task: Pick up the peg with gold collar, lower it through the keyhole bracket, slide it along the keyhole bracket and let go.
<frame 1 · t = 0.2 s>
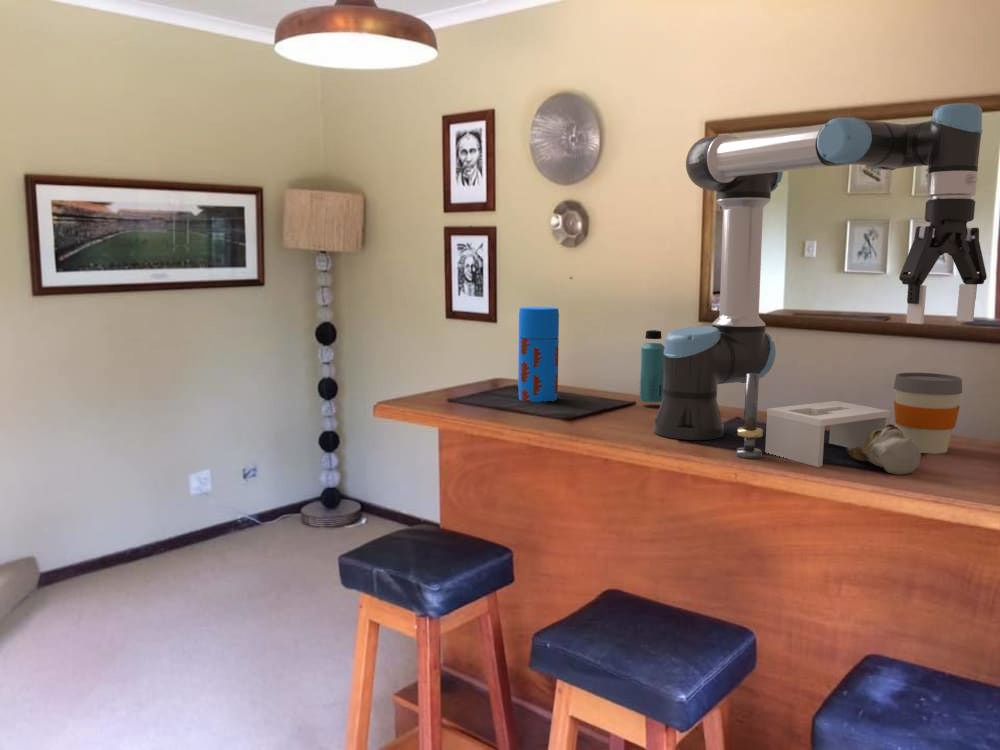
hand: (940, 322, 146), 28 cm above the table, fingers open, 13 cm apart
beverage bottle: (651, 406, 220), on the table
keyhole bracket: (825, 454, 167), on the table
thermos: (537, 399, 229), on the table
reusable coffee cup: (922, 449, 172), on the table
peg with gold collar: (748, 456, 165), on the table
ceramic sculpture: (886, 469, 156), on the table
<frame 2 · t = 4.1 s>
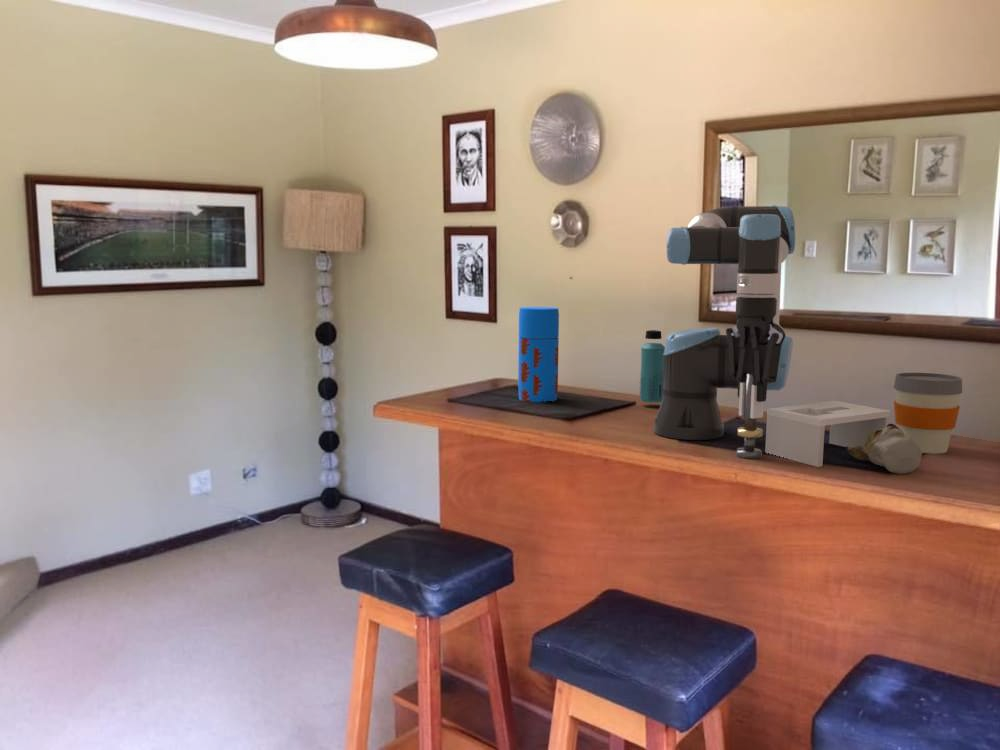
hand: (750, 416, 163), 8 cm above the table, fingers closed on peg with gold collar, 2 cm apart
peg with gold collar: (748, 456, 165), on the table, touching gripper
everything else where it was.
when the fingers open (13 cm above the table, at t = 10.2 s): peg with gold collar stays where it is, resting on keyhole bracket.
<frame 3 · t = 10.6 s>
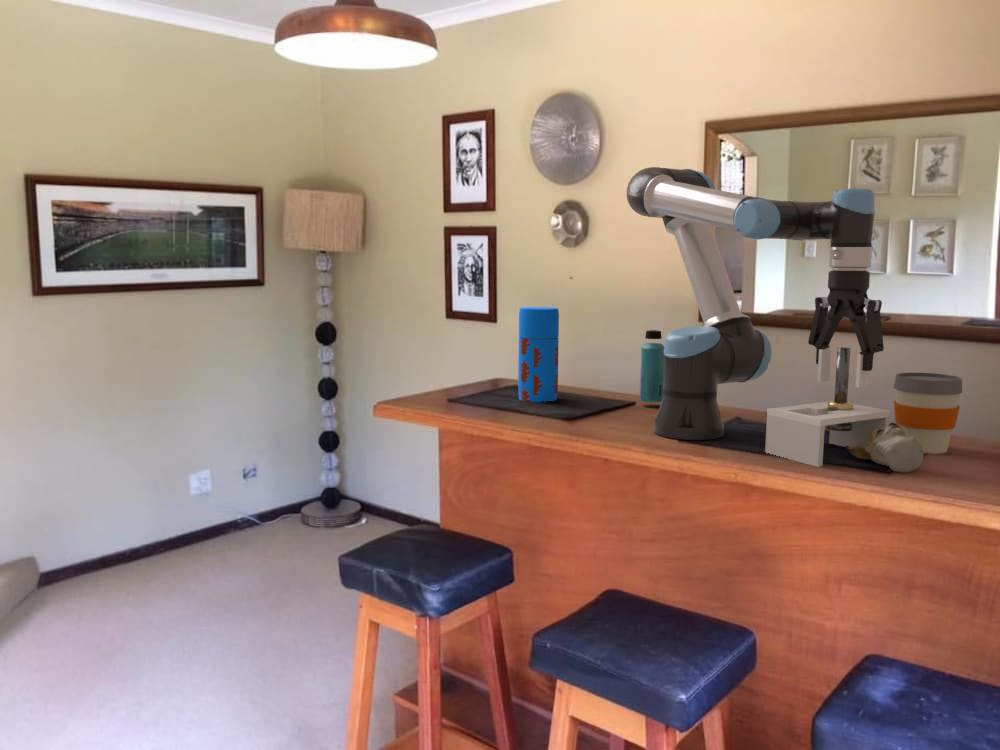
hand: (842, 383, 166), 14 cm above the table, fingers open, 8 cm apart
peg with gold collar: (838, 428, 168), point 5 cm above the table, touching keyhole bracket
ceramic sculpture: (888, 467, 158), on the table
everything else where it was.
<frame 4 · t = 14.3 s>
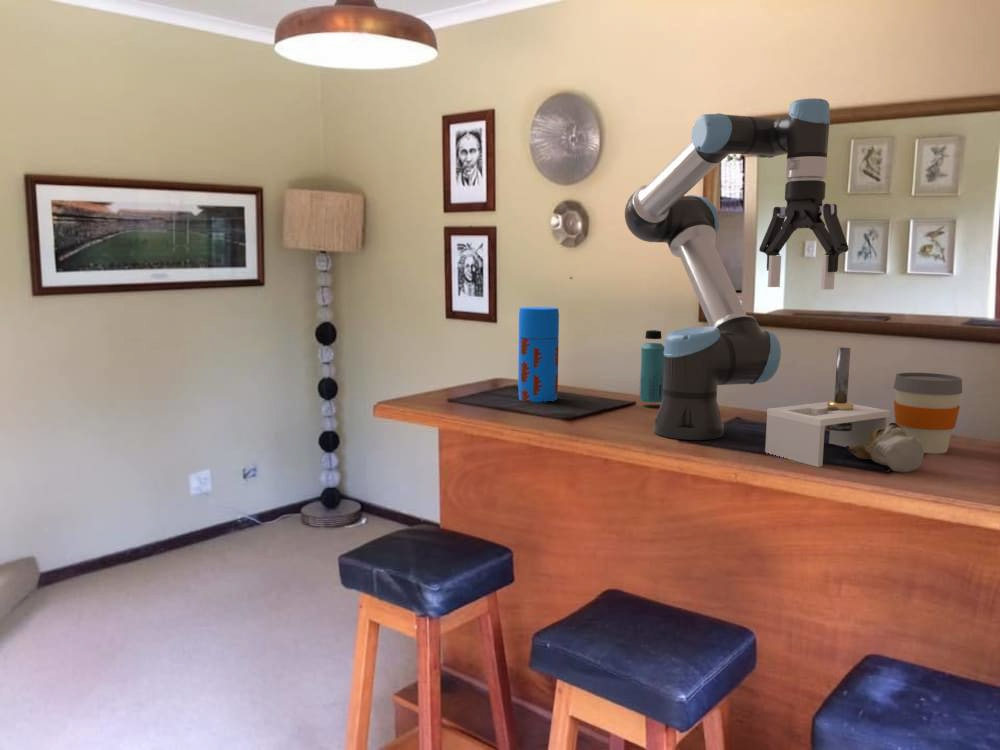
hand: (799, 288, 169), 33 cm above the table, fingers open, 13 cm apart
nothing on the table moved.
at the end: peg with gold collar 0.1 cm from the target spot on the keyhole bracket, point 4.8 cm above the keyhole bracket's base; peg with gold collar touching keyhole bracket; peg with gold collar tilted 0° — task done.
